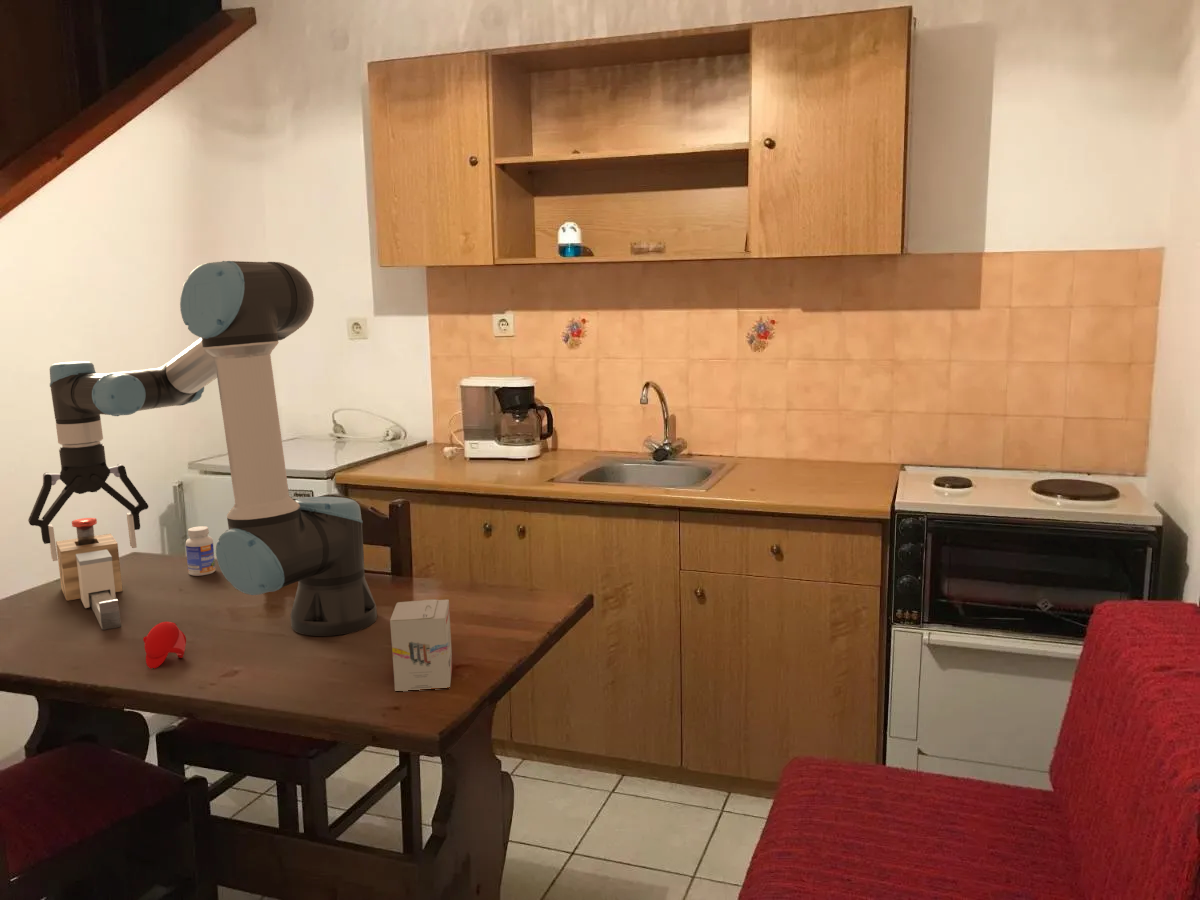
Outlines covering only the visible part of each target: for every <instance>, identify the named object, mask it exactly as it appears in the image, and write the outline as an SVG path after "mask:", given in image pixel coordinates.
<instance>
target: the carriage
mask: <svg viewBox="0 0 1200 900" xmlns="http://www.w3.org/2000/svg"><path fill="white" fill-rule="evenodd" d="M76 559H77V568H78V577H79V586H80V595H81V598H80V601H81V602H82V605H83V607H84V608H85V609H87V608H90V607H91V605H90V603H89V596H88V593H92V592H98V591H104V590H108V592H109V594H110V595H111V597H112V599H117V596H116V592H115V585H114V576H113V566H112V556H111V555H110V553H109V552H108V550H107V549H106V550H100V551H93V552H86V553H80V554H76Z"/></svg>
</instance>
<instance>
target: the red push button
mask: <svg viewBox="0 0 1200 900" xmlns="http://www.w3.org/2000/svg"><path fill="white" fill-rule="evenodd" d="M97 520H98V519H97V518H95V517H82V518H77V519H74V520H72V521H71V527H72V528H76V537H77V538H78V545H79V546H81V545H88V544H95V537H94V536H95V530H94V525H97V523H98V521H97Z"/></svg>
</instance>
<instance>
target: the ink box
mask: <svg viewBox="0 0 1200 900" xmlns="http://www.w3.org/2000/svg"><path fill="white" fill-rule="evenodd" d="M450 616H451V615H450V600H449V599H435V598H434V599H423V600H422V599H421V600H411V601H409V600H407V601H398V602H396V604H395V606H394V609H393V612H392V614H391V617H390V619H389V625H390V637H391V638H390V639H391V651H392V665H393V682H394V692H395V691H403V692H409V691H408V690H419V691H421V690H420V689H431V688H447V687H450V688H451V683H452V682H451V681H452V673H453V672H452V671H453V655H452V652H453V651H452V635H451V633H452V632H451V618H450Z"/></svg>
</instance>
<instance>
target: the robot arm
mask: <svg viewBox="0 0 1200 900" xmlns="http://www.w3.org/2000/svg"><path fill="white" fill-rule="evenodd" d="M179 297H180V300H179V301H180V302H179V305H180V306H179V307H180V314H181V319H182V321H183V323H184V324H185V326H187V330H189V331H190V333H191V334H193V335H194V336H196V337H198V339H197V340H196V341H194V342H193V343H192V344H191V345H189V346H188V347H187V348H185V349H184V350H182V351H181V352H180V353H179V354H177V355H175V357H173V358H172V359H170V360H169V361H167V362H166V363H165V364H163V365H161V366H160V367H155V368H148V369H147V368H146V369H139V370H130V371H128V370H127V371H117V372H108V373H105V372H104V373H98V372H96V370H95V369H96V368H95V365H94V364H93V362H91V361H86V360H84V361H82V360H81V361H79V360H78V361H64V362H57V363H52V364H51V366H50V367H49V379H50V380H49V381H50V383H49V387H50V392H51V393H50V394H51V400H52V407H53V415H54V419H55V426H56V427H55V428H56V436H57V443H58V444H59V445H61V446H60V447H59V448H58V452H59V458H60V459H59V461H60V467H61V469H60V473H49V472H44V473H43V475H42V486H41V489H40V490H39V493H38V496H37V498H36V501H35V502H34V504H33V508H32V510H31V512H30V515H29V516H28V520H27V521H28V524H29V525H30V526H33V527H34V526H35V527H39V528H40V533H41V538H42V539H41V540H42V542H43V544H44V545H47V544H48V545H49V549H50V554H51V559H52V561H53V562H58V555H57V546H56V537H55V531H54V526H53V524H52V523H51V522H52V521H53V520H54V518H55V517H56V516H57V514H58V513H59V511H61V509H62V508H63V506H64V505H65V504H66V502H67V501H68V499H70V498H71V497H72V495H73V494H74V493H76V494H78V495H82V494H83V495H84V494H86V493H97V492H98V491H100V490H101V489H102V490H103V491H105V492H106V493H107V494H108V495H109V496H111V497H112V498H113V499H115V500H116V502H118V503H120V505H122V506H123V507H125V509H127V510H128V511H129V512H127V513H126V521H127V530H128V537H129V545H130V547H131V548H132V549H136V548H137V547H138V546H137V538H136V531H139V530H140V529H141V520H140V513H141V512H142V511H146V510H148V509H149V504H148V503H147V502H146V500H145V499H144V497H143V496H142V495H141V493H140V492H139V490H138V489H137V487H136V486H135V485H134V483H133V481H132V480H131V479H130V478H129V477H128V474H127V470H126V467H125V465H124V464H122V463H117V465H115V466H111V467H108V465H107V459H106V451H105V444H104V443H102V442H101V441H103V440H104V435H103V428H102V426H103V425H102V420H101V419H102V418H101V415H108V416H112V417H119V416H129V415H133V414H135V413H137V412H139V411H148V410H152V409H162V408H169V407H174V406H176V407H177V406H179V407H180V406H185V405H188V404H191V403H195V402H197V401H199V400H200V399H201V398H202V396H203V393H204V391H205V387H206V386H207V385H208V384H210V383H211V382H213V381H214V380H216V379H217V385H218V392H219V400H220V407H221V413H222V420H223V422H222V423H223V427H224V429H223V430H224V434H225V436H224V437H225V441H226V443H225V444H226V449H227V456H228V463H229V464H228V465H229V470H230V478H231V485H232V491H233V500H234V504H233V507H232V508H230V510H229V512H228V513H227V514H226V518H227V519H226V520H227V527H228V529H227V530H225V531H224V532H223V533H222V534H221V535H220V536H219V538H218V541H217V542H216V546H215V557H216V561H217V564H218V567H219V569H220V571H221V574H222V575H223V577H224V578H225V579H226V581H227V582H228V583H230V584H231V585H232V587H233V588H235V590H238V591H239V592H241V593H243V594H246V595H251V596H259V595H264V594H265V593H269V592H270V593H271V592H276V591H279V590H281V588H284V587H286V586H289V585H292V584H294V583H298V584H297V588H296V592H295V597H294V600H293V603H292V607H291V611H290V625H291V628H292V630H293V631H294V632H297V633H299V634H302V635H305V636H314V637H329V636H331V637H332V636H339V635H341V636H342V635H345V634H346V635H347V634H350V633H354V632H358V631H361V630H364V629H366V628H368V627H370V626H371V625H373V624H374V623H375V622H376V621H377V620H378V619H377V618H378V616H377V615H378V614H377V613H378V612H377V611H378V610H377V604H376V602H375V599H374V597H373V594H372V592H371V590H370V587H369V585H368V582H367V580H366V576H365V557H364V537H363V535H364V534H363V533H364V532H363V531H364V529H363V524H364V523H363V522H364V521H363V520H362V514H361V513H362V512H361V506H360V504H359V503H358V502H357V501H356V500H354V499H351V498H347V497H337V496H305V497H298V498H295V499H293V498H292V497H291V496H290V492H289V485H288V478H287V469H286V464H285V455H284V448H283V441H282V440H283V439H282V433H281V425H280V417H279V411H278V402H277V401H278V400H277V395H276V394H277V393H276V388H275V381H274V380H275V379H274V373H273V372H274V371H273V366H272V365H273V363H272V357H271V355H272V352H273V351H274V349H275V348H276V347H277V346H278V344H279V342H280V341H282V340H284V339H286V338H287V337H289V336H291V335H292V334H294V333H295V332H296V331H297V330H299V329H300V328H301V327H303V326H304V325H305V324H306V322H307V321H308V320H309V318H310V316H311V314H312V312H313V309H314V301H315V299H314V292H313V289H312V286H311V284H310V282H309V280H308V279H307V277H306V276H305V275H303V273H302V272H301V271H300V270H298V269H297V268H295V267H294V266H292V265H289V264H287V263H285V262H280V261H264V262H263V261H242V260H240V261H239V260H237V261H236V260H222V261H215V262H206V263H203V264H200V265H198V266H197V267H195V268H194V269H192V271H191V272H190V273H189V275H188V277H187V278H186V279H185V280H184V283H183V286H182V288H181V293H180V296H179ZM111 474H113V475H114V476H115V478H119V479H120V481H121V482H122V483H123V485H124V486H125V487H126V489H127V490H128V491H129V493H130V494H131V496H132V497H133V498H134V500H135V501H136V503H137V504H135V505H134V504H133V503H132V502H131V501H129V500H128V499H127V498H126V497H125V496H123V495H122V494H121V493H119V492H118V490H116V489H114V487H112V486H111V485H110V484H108V483H107V480H108V478H109V476H110V475H111ZM59 480H60V481H62V483H63V484H64V485H65V486H64V487H63V489H62V490H61V492H60V494H59V495H58V496H57V498H56V499H55V500H54V502H53V503H52V504H51V506H50V507H49V509H47V510H46V512H45V513H44V515H43V516H42V517H41V514H42V512H43V509H44V507H45V504H46V502H47V500H48V497H49V494H51V493H50V492H51V490H52V486H54V485H56V484H57V482H58V481H59ZM40 517H41V518H40ZM50 523H51V524H50Z"/></svg>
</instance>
